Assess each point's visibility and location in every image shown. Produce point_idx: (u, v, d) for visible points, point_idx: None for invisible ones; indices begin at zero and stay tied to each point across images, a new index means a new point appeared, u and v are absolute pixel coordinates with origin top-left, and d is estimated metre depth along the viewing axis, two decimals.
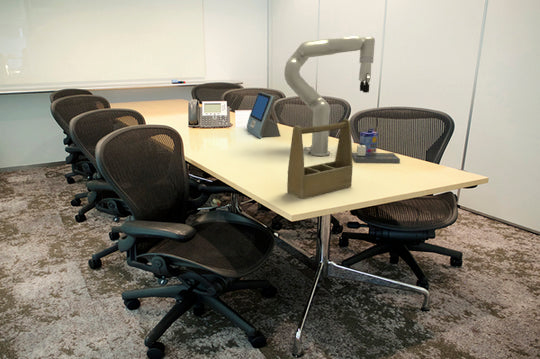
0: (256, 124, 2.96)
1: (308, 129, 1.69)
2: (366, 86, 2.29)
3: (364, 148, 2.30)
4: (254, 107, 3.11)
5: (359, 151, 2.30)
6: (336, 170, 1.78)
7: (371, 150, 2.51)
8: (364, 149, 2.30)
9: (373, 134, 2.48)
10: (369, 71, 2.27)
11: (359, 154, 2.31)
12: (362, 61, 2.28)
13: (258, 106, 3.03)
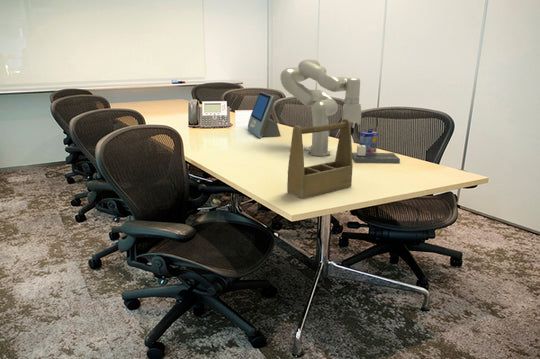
0: (256, 124, 2.97)
1: (308, 129, 1.69)
2: None
3: (364, 148, 2.30)
4: (255, 107, 3.11)
5: (359, 151, 2.30)
6: (336, 170, 1.78)
7: (371, 150, 2.51)
8: (364, 149, 2.30)
9: (373, 134, 2.48)
10: None
11: (359, 154, 2.31)
12: (357, 103, 2.22)
13: (259, 106, 3.03)
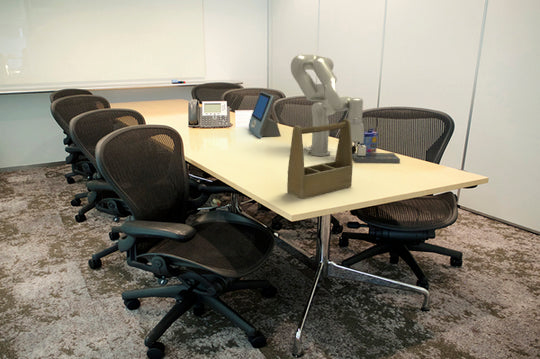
0: (256, 124, 2.97)
1: (308, 129, 1.69)
2: None
3: (364, 148, 2.30)
4: (256, 107, 3.12)
5: (359, 151, 2.30)
6: (336, 170, 1.78)
7: (371, 150, 2.51)
8: (364, 149, 2.30)
9: (373, 134, 2.48)
10: None
11: (359, 154, 2.31)
12: (360, 122, 2.25)
13: (259, 106, 3.03)
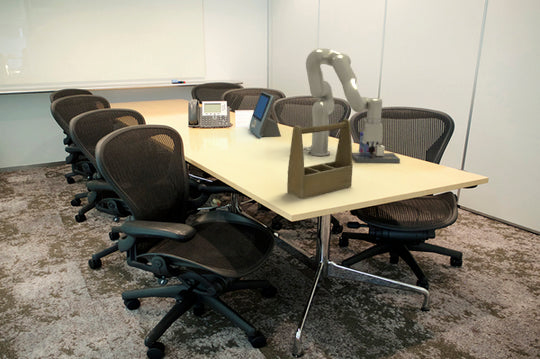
0: (257, 124, 2.97)
1: (308, 129, 1.69)
2: None
3: (383, 148, 2.29)
4: (256, 107, 3.12)
5: (378, 151, 2.30)
6: (336, 170, 1.78)
7: None
8: (383, 149, 2.30)
9: None
10: None
11: (378, 154, 2.30)
12: (379, 122, 2.25)
13: (260, 106, 3.04)
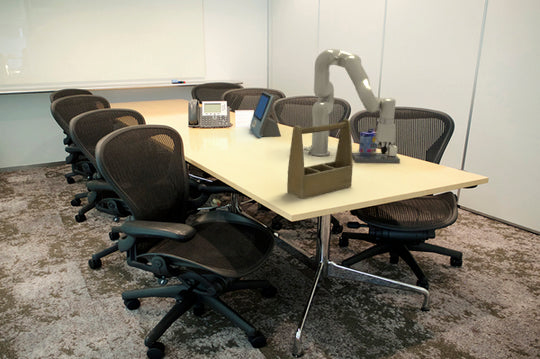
0: (257, 124, 2.98)
1: (308, 129, 1.69)
2: None
3: (395, 148, 2.29)
4: (257, 107, 3.12)
5: (390, 151, 2.30)
6: (336, 170, 1.78)
7: (371, 150, 2.51)
8: (395, 149, 2.29)
9: (373, 134, 2.48)
10: None
11: (390, 154, 2.30)
12: (392, 123, 2.25)
13: (260, 106, 3.04)
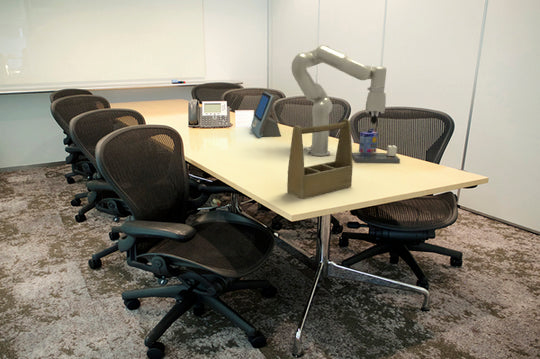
0: (257, 124, 2.98)
1: (308, 129, 1.69)
2: None
3: (395, 148, 2.29)
4: (258, 107, 3.13)
5: (390, 151, 2.30)
6: (336, 170, 1.78)
7: (371, 150, 2.51)
8: (395, 149, 2.29)
9: (373, 134, 2.48)
10: None
11: (390, 154, 2.30)
12: (382, 91, 2.23)
13: (260, 106, 3.04)
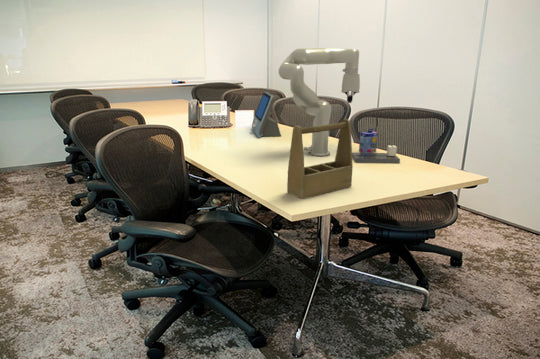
0: (257, 124, 2.98)
1: (308, 129, 1.69)
2: None
3: (395, 148, 2.29)
4: (258, 107, 3.13)
5: (390, 151, 2.30)
6: (336, 170, 1.78)
7: (371, 150, 2.51)
8: (395, 149, 2.29)
9: (373, 134, 2.48)
10: None
11: (390, 154, 2.30)
12: (356, 72, 2.41)
13: (261, 106, 3.04)
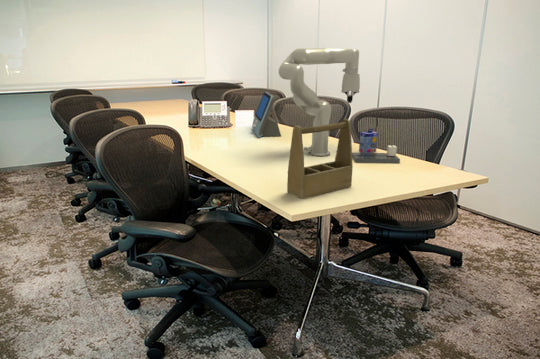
0: (257, 123, 2.98)
1: (308, 129, 1.69)
2: None
3: (395, 148, 2.29)
4: (259, 107, 3.13)
5: (390, 151, 2.30)
6: (336, 170, 1.78)
7: (371, 150, 2.51)
8: (395, 149, 2.29)
9: (373, 134, 2.48)
10: None
11: (390, 154, 2.30)
12: (356, 72, 2.41)
13: (261, 106, 3.04)
